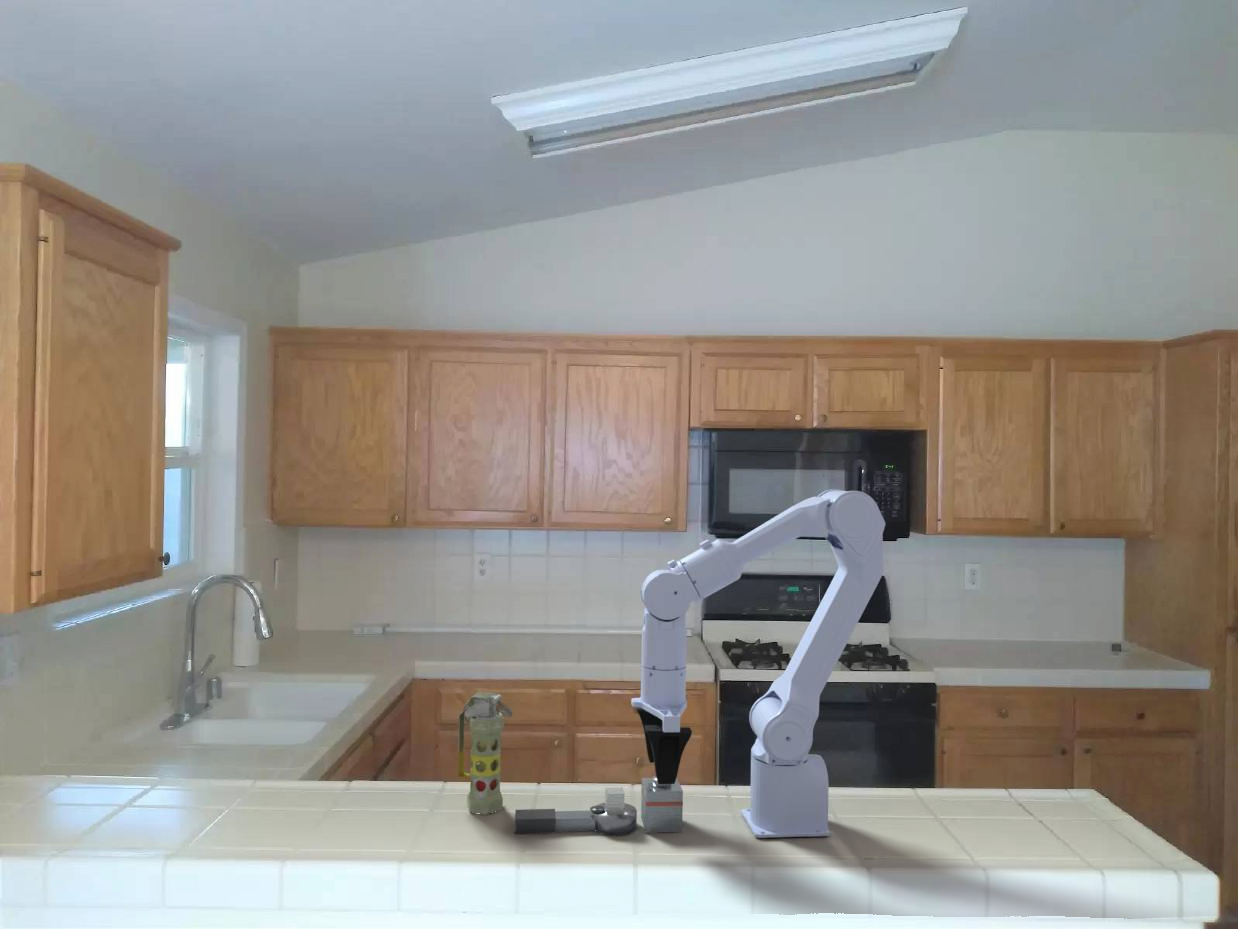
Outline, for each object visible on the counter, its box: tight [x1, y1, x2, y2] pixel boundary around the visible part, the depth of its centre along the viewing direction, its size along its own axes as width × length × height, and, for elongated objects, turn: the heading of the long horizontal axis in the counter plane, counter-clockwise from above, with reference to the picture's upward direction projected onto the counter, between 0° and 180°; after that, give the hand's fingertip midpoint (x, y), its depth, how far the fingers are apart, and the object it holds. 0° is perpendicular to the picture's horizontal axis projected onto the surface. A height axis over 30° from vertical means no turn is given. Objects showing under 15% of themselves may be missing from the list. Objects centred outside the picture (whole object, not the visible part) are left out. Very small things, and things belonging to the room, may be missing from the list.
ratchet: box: [514, 786, 638, 837], centre depth 109 cm, size 15×6×4 cm, turn 96°
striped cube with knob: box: [640, 774, 684, 834], centre depth 110 cm, size 5×5×6 cm
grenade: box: [457, 691, 514, 815], centre depth 115 cm, size 6×7×15 cm
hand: (661, 772), depth 110 cm, fingers open, 7 cm apart
